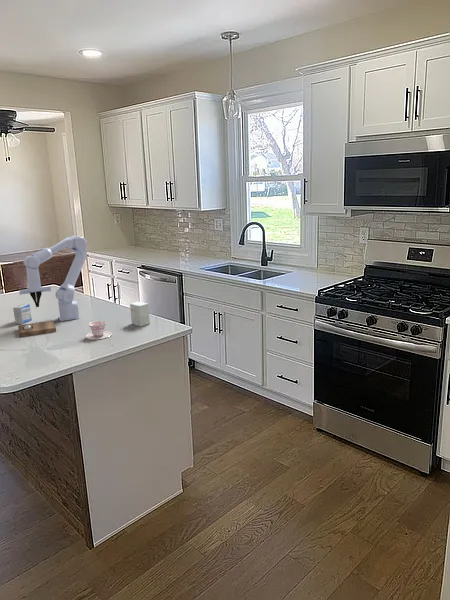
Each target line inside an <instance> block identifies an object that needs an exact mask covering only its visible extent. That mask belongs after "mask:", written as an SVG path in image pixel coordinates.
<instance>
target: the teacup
mask: <svg viewBox="0 0 450 600" xmlns="http://www.w3.org/2000/svg"><path fill="white" fill-rule="evenodd" d="M106 325H107V322H106V321H104V320H95V321H91V322H89V323H88V327H90V330H91V332H89V333H87V334H86V335H85V339H87V340H91V341H93V340H94V341H95V340H96V341H97V340H104V339H107V338H110V337H111V336H113V332H111V331H108V330H104V329H105V326H106Z"/></svg>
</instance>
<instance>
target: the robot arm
mask: <svg viewBox="0 0 450 600" xmlns="http://www.w3.org/2000/svg"><path fill="white" fill-rule="evenodd" d="M87 246H88V242H87V240H86V238H85V237H84V236H80V235H79V236H78V235H74V234H73V235H70V236H67V237H64V239H63V240H62V239H61V241H59V242H58V243H57V242H56V243H55V244H54V245H52V246H51V247H44V248H43V247H41V248H40V250H38V251H37V252H32V253H31V255H27V256H25V257H24V259H23V262H22V264H23V265H24V266H25V270H26V276H27V277H26V278H27V284H28V285H27V286H28V288H26V289H19V296H21V295H25V294H27V295H28V294H29V295H30V297H31V298H32V300H33V302H34V304H35V308H39V307H40V301H41V297H42V295H43V293H44V292H45V293H46V292H52V289H51V288H52V287H51V286H42V283H41V278H40V277H41V276H40V270H39V267H40V265H41V264H43V263H45V262H46V261H48V260H49V259H51V258H52V257H53V255H54V254H56V253H58V252H60V251H62V250H64V249H66V248H71V250H72V251H73V253H74V254H75V256H74V259H73V261H72V262H71V266H70V268H69V270H68V273H67V275H66V277H65V280H64V282H63V283H62V284H61V285H59V288H58V289H57V290H56V292H55V298H56V299H57V300H58V301H57V303H58V311H59V316H58V319H59V321H60V322H63V321H72V320H79V319H80V315H79V312H80V311H79V306H78V301H77V300H74V299H75V293H76V290H75V289H76V288H75V285H76V283H77V280H78V278H79V276H80V273H81V271H82V269H83V266H84V264H85V261H86V259H87V257H88V250H87Z"/></svg>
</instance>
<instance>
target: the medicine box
mask: <svg viewBox="0 0 450 600" xmlns="http://www.w3.org/2000/svg"><path fill="white" fill-rule="evenodd" d="M12 310H13V317H14V321H15V324H16V325H25V324H27V323H28V322H30V321H32V310H31V304H29V303H23V304H22V303H21V304H20V305H17V306H14V307H13V308H12Z"/></svg>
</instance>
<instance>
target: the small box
mask: <svg viewBox="0 0 450 600" xmlns="http://www.w3.org/2000/svg"><path fill="white" fill-rule="evenodd" d="M129 309H130V317H131V318H130V321H131V324H132V325H135V326H138V327H144V326H148V325H149V324H151V320H150V311H149V310H150V307H149V303H146V302H142V301H135V302H131V303H129Z"/></svg>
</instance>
